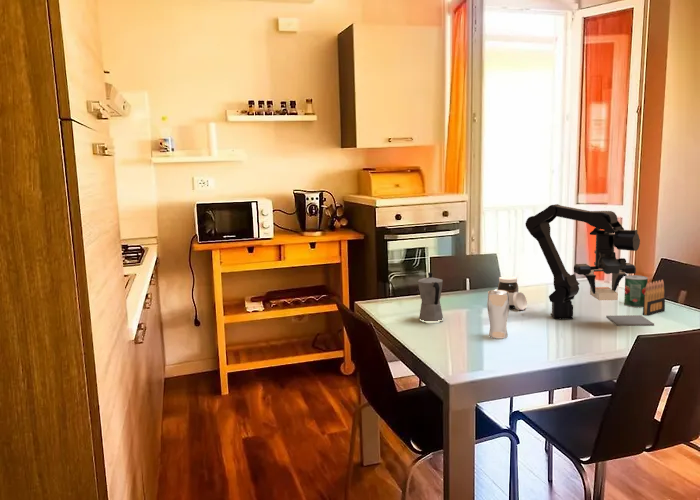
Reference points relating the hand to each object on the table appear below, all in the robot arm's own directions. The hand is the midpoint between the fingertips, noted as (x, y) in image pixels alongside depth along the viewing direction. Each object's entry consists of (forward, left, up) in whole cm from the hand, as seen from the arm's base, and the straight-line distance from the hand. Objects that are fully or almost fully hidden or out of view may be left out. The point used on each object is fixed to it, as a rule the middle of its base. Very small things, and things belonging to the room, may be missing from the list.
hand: (603, 293), depth 193 cm
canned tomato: (+21, +27, -11) cm, 36 cm away
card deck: (0, 0, -1) cm, 1 cm away
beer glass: (-37, -13, -11) cm, 41 cm away
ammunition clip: (+23, +15, -11) cm, 29 cm away
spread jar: (-26, +25, -11) cm, 38 cm away
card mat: (+10, +4, -11) cm, 16 cm away
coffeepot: (-58, +6, -11) cm, 60 cm away
